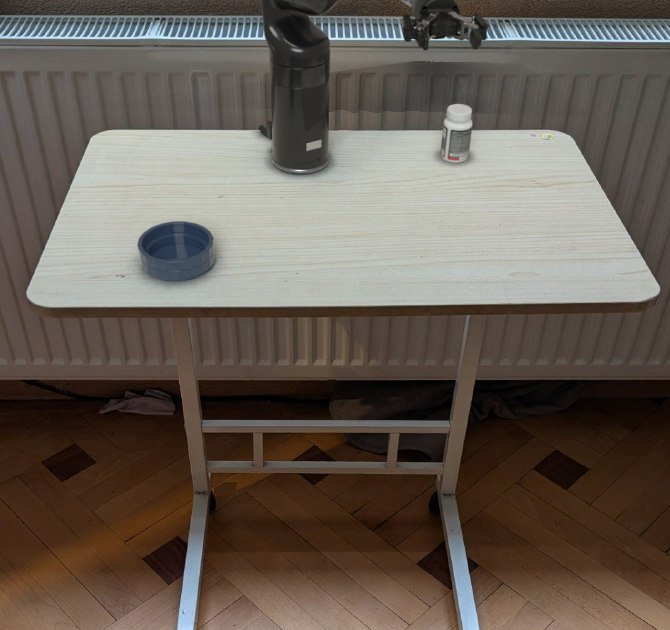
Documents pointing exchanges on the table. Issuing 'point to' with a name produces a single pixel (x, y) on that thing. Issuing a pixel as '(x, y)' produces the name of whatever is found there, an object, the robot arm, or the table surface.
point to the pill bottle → (456, 133)
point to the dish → (176, 250)
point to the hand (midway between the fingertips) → (451, 43)
